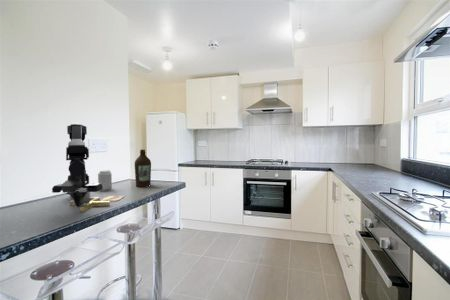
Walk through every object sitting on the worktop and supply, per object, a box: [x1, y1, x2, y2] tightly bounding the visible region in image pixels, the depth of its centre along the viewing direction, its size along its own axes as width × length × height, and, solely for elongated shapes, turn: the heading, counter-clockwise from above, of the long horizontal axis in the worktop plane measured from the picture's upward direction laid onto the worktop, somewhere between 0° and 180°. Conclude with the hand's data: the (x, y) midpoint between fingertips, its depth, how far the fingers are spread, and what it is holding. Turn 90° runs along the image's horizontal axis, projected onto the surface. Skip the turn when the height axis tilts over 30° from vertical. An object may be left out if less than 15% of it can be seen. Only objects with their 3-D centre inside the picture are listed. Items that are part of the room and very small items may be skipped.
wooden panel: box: [100, 195, 125, 202], centre depth 119 cm, size 9×9×1 cm
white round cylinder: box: [82, 184, 91, 204], centre depth 109 cm, size 5×5×9 cm
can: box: [97, 169, 113, 192], centre depth 141 cm, size 8×8×12 cm
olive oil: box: [134, 149, 152, 188], centre depth 151 cm, size 11×11×25 cm
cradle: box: [69, 196, 101, 206], centre depth 111 cm, size 11×8×2 cm
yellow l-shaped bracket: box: [79, 201, 111, 212], centre depth 103 cm, size 9×9×3 cm
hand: (78, 206), depth 100 cm, fingers closed
